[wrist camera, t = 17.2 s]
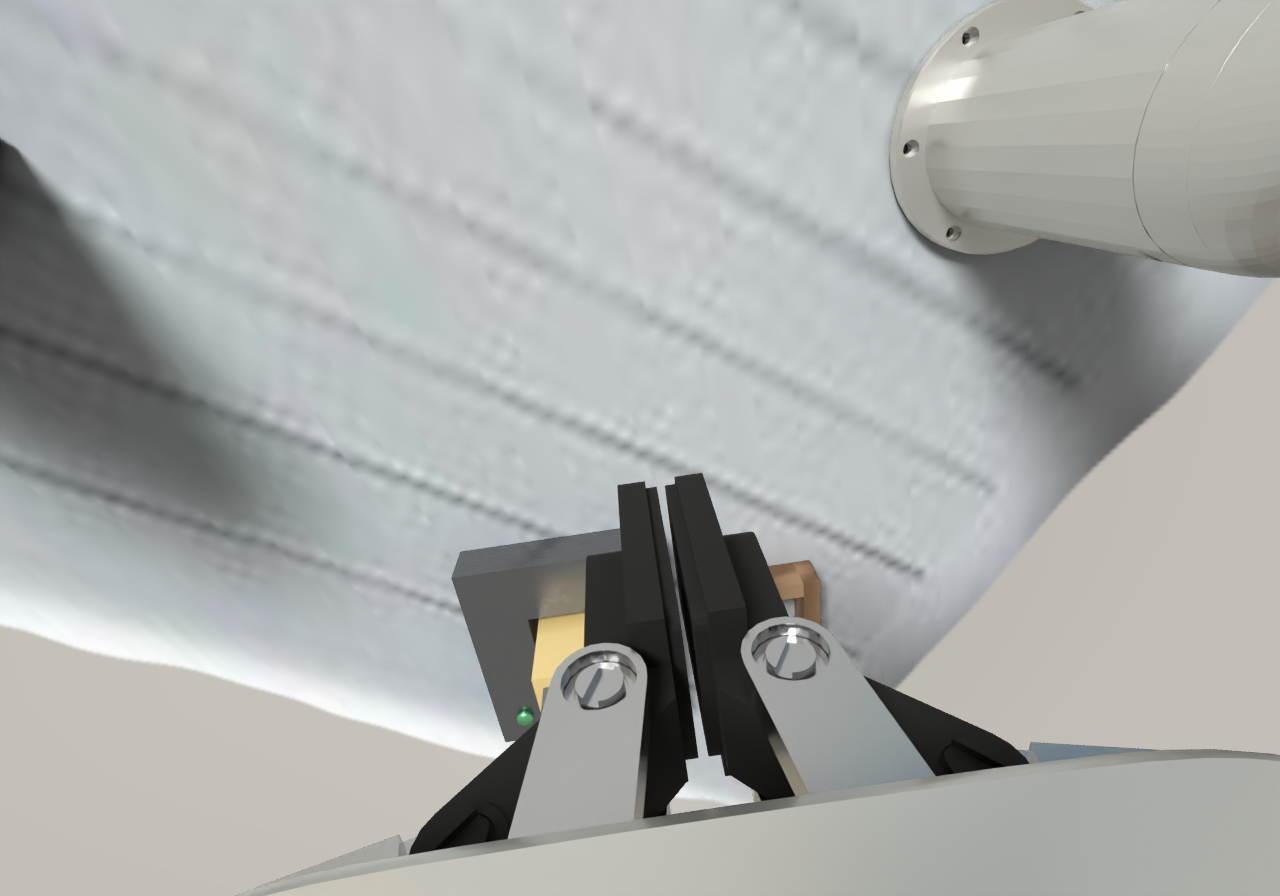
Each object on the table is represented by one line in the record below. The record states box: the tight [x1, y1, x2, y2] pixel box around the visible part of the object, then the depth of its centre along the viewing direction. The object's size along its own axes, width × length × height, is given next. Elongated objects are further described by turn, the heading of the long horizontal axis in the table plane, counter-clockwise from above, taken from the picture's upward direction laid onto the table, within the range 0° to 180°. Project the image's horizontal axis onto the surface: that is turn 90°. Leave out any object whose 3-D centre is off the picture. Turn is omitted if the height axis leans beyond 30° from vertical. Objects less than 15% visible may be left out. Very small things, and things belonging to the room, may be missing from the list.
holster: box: [768, 560, 820, 625], centre depth 47 cm, size 8×10×2 cm
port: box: [452, 529, 622, 742], centre depth 46 cm, size 14×16×3 cm
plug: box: [531, 611, 585, 715], centre depth 43 cm, size 4×6×10 cm
